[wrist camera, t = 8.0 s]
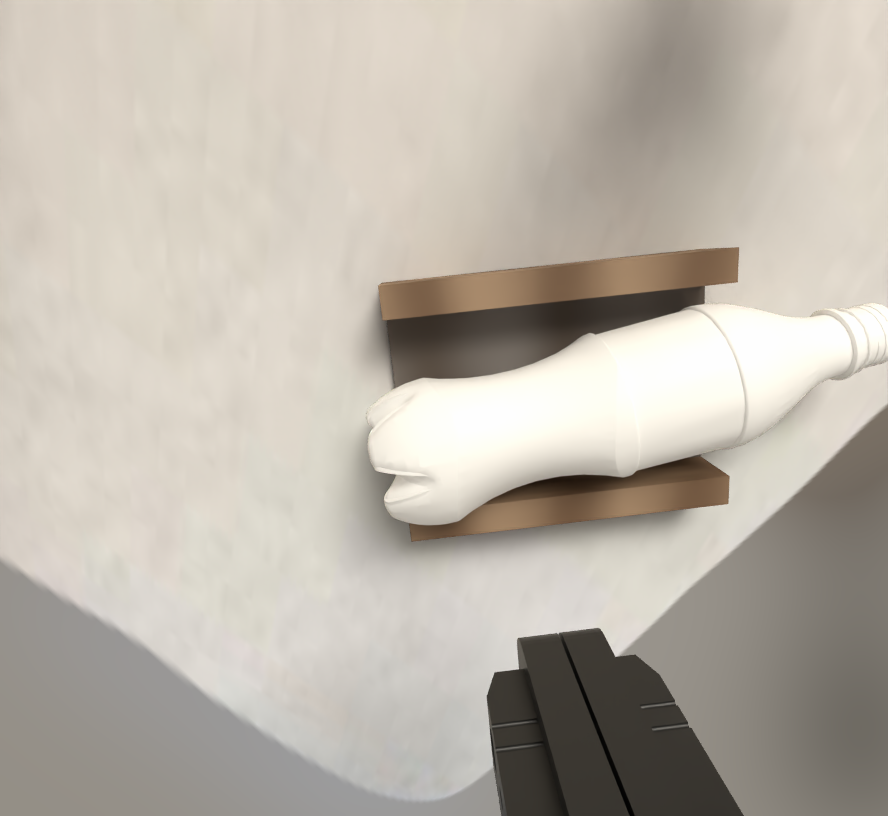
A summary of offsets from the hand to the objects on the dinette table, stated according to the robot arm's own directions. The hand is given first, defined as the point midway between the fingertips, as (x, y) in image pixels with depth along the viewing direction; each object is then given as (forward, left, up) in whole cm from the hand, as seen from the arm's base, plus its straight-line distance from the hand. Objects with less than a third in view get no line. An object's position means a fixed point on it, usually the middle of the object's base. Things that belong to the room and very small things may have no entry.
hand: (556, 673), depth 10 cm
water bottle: (-5, -2, -17) cm, 18 cm away
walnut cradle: (+5, 0, -21) cm, 22 cm away
